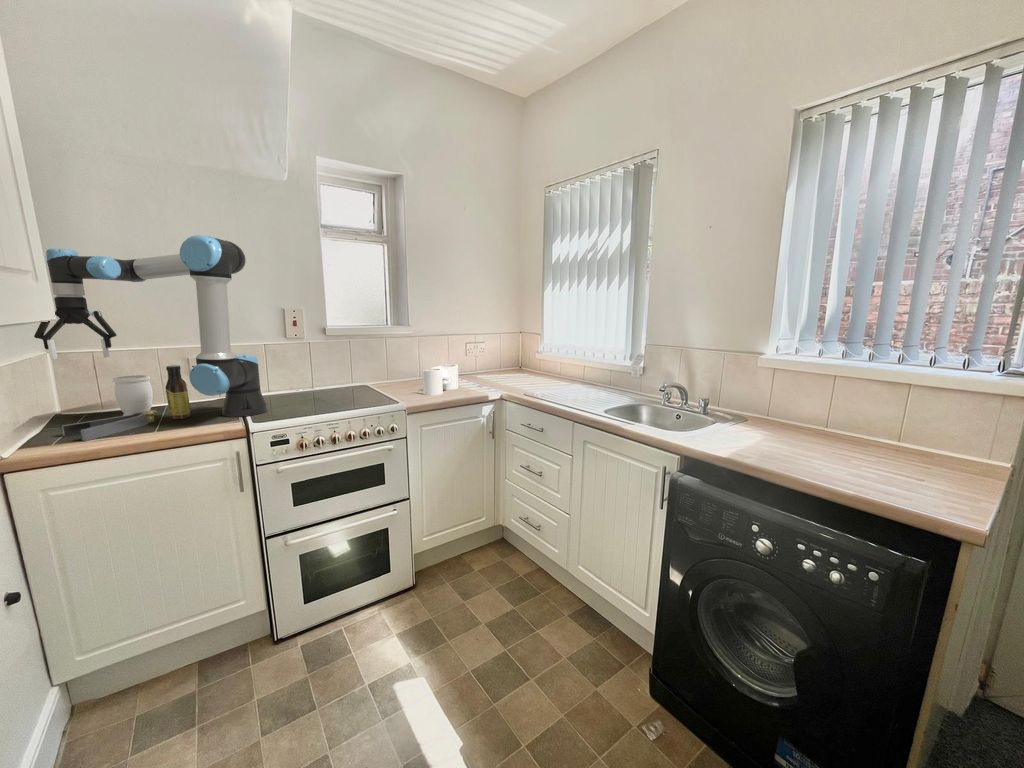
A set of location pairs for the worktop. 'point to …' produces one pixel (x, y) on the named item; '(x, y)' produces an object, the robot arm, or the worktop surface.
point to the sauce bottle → (177, 394)
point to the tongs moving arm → (98, 423)
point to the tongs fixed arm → (115, 427)
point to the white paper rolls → (440, 379)
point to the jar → (133, 393)
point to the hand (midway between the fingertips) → (81, 358)
